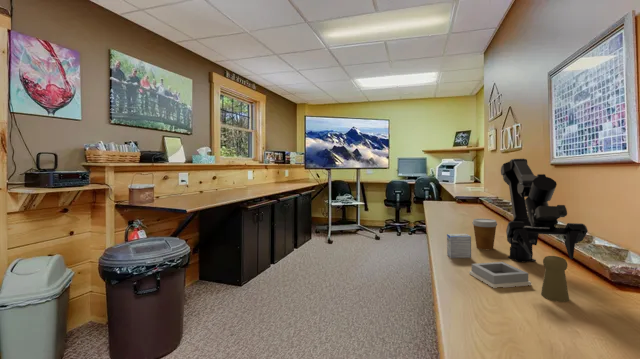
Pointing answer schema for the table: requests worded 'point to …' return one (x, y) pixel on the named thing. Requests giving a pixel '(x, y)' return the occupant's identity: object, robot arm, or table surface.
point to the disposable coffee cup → (484, 233)
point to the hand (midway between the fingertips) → (551, 256)
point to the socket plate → (499, 274)
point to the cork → (555, 279)
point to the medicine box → (459, 245)
